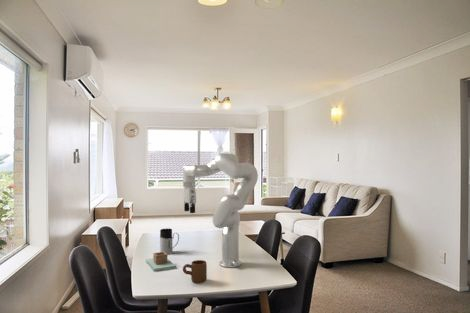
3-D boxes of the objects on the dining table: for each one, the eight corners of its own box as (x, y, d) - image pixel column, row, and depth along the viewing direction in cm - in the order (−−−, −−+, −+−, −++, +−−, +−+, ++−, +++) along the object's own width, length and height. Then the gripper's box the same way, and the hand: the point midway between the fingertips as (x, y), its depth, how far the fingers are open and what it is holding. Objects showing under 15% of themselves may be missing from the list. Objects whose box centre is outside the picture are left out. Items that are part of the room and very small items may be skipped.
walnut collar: (167, 263, 200) (167, 254, 200) (156, 264, 197) (156, 255, 197) (164, 260, 206) (164, 251, 206) (153, 261, 203) (153, 253, 203)
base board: (175, 268, 195) (175, 265, 195) (154, 271, 190) (154, 268, 190) (165, 259, 213) (165, 256, 213) (145, 262, 208) (145, 259, 208)
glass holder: (165, 250, 234) (164, 227, 234) (182, 252, 227) (182, 229, 228) (156, 253, 226) (156, 230, 226) (174, 256, 220) (174, 232, 220)
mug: (184, 286, 168) (184, 266, 168) (181, 280, 175) (180, 262, 175) (208, 282, 173) (208, 263, 173) (204, 277, 180) (204, 259, 180)
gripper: (200, 185, 215) (200, 213, 215) (189, 183, 231) (190, 209, 230) (188, 185, 212) (189, 214, 212) (178, 184, 227) (179, 210, 227)
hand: (189, 212), depth 221 cm, fingers open, 9 cm apart
